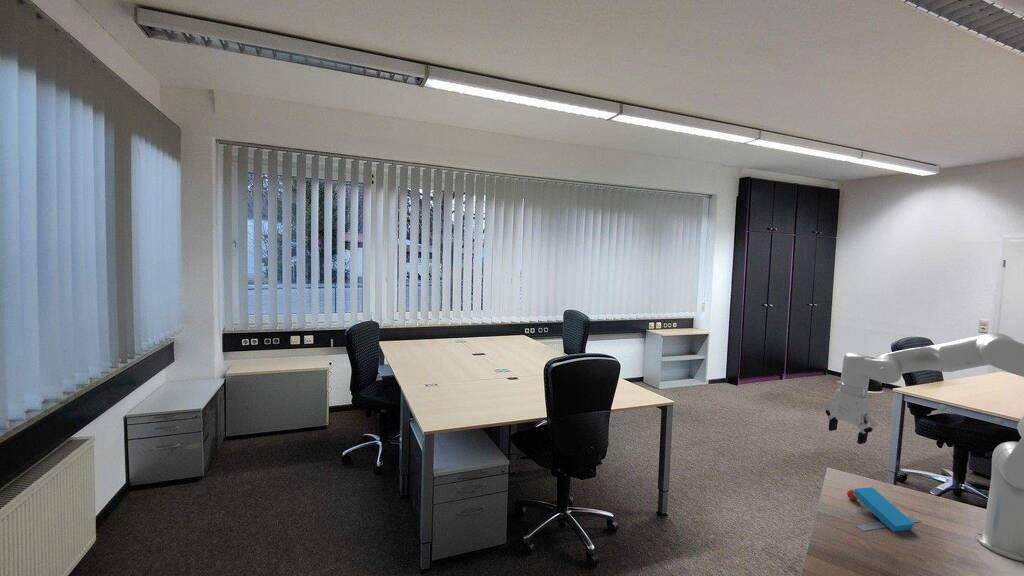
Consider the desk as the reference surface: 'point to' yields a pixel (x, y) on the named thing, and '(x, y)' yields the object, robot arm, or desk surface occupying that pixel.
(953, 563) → the desk surface
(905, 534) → the desk surface
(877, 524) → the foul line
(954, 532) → the desk surface
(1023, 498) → the robot arm
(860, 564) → the desk surface
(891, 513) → the lever
